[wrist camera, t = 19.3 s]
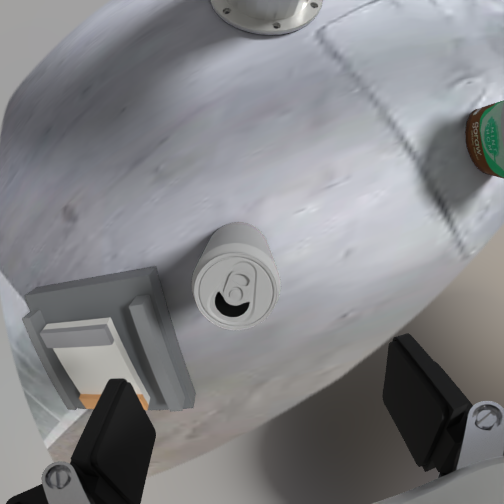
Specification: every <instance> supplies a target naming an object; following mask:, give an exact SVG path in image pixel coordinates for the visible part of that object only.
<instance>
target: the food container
mask: <svg viewBox="0 0 504 504" xmlns="http://www.w3.org/2000/svg"><path fill="white" fill-rule="evenodd" d="M465 135H466V144H467V149H468V152H469V155H470V157H471V159H472V161H473V163H474V164H475V166H476V167H477V168H478V169H479V170H480V171H482V172H483V173H485V174H489V175H493V176H497V177H500V178H504V101H500V102H497V103H494V104H491V105H488V106H485V107H482V108H479V109H476V110H474V111H473V112H472V113H471V114H470V116H469V118H468V121H467V123H466V131H465Z"/></svg>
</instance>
